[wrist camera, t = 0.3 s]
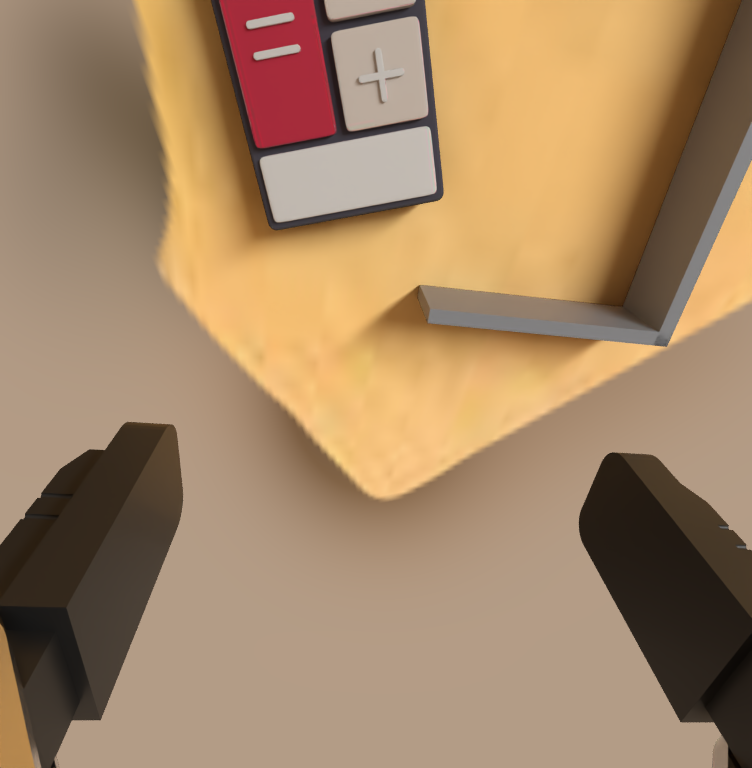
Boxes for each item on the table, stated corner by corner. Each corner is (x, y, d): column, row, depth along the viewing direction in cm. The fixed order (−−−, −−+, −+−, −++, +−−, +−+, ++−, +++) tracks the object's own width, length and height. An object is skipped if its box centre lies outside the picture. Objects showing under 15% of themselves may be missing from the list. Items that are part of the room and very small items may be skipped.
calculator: (414, -139, 22) (447, 201, 29) (404, -97, 26) (435, 194, 33) (183, -91, 23) (268, 234, 29) (207, -57, 27) (277, 223, 33)
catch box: (505, -209, 24) (542, -281, 19) (814, -138, 26) (910, -190, 21) (417, 297, 36) (427, 323, 32) (629, 319, 38) (666, 346, 34)
